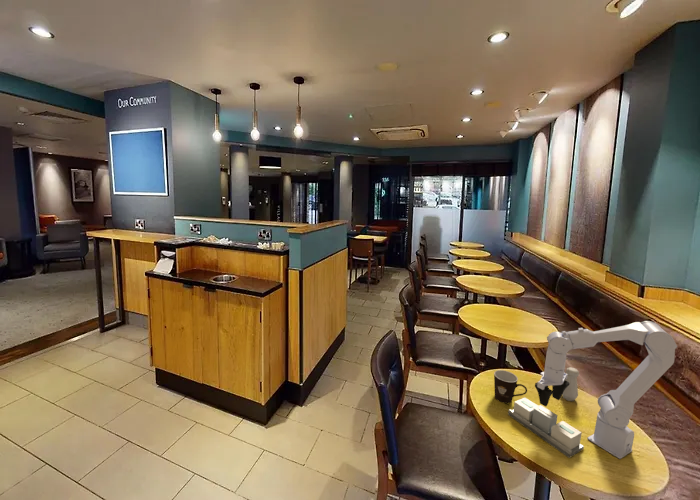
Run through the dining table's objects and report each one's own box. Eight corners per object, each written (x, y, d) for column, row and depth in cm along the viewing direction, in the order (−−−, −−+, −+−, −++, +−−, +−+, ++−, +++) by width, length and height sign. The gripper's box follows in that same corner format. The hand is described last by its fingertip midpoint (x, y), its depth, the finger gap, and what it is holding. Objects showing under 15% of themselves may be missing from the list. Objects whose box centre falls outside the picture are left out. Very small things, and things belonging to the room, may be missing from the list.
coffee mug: (487, 394, 132) (489, 372, 130) (502, 389, 135) (504, 368, 133) (510, 412, 121) (513, 388, 120) (526, 406, 125) (529, 383, 123)
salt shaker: (571, 394, 133) (576, 365, 131) (580, 403, 127) (585, 373, 125) (557, 393, 134) (561, 364, 131) (564, 401, 128) (569, 372, 126)
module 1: (538, 417, 117) (540, 406, 116) (528, 422, 114) (529, 411, 113) (523, 407, 122) (524, 397, 121) (513, 412, 119) (514, 401, 119)
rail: (583, 449, 104) (584, 443, 104) (569, 457, 100) (570, 451, 100) (521, 408, 123) (522, 403, 123) (507, 414, 120) (508, 409, 119)
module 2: (579, 444, 104) (581, 432, 104) (569, 450, 102) (571, 438, 101) (560, 432, 110) (562, 420, 109) (550, 437, 107) (552, 425, 106)
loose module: (555, 430, 111) (557, 414, 109) (548, 434, 109) (550, 418, 108) (538, 419, 116) (540, 404, 115) (531, 422, 114) (533, 407, 113)
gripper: (555, 356, 117) (550, 389, 119) (530, 365, 110) (526, 400, 113) (575, 365, 111) (570, 400, 113) (551, 376, 104) (546, 412, 107)
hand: (549, 401), depth 113 cm, fingers open, 7 cm apart
